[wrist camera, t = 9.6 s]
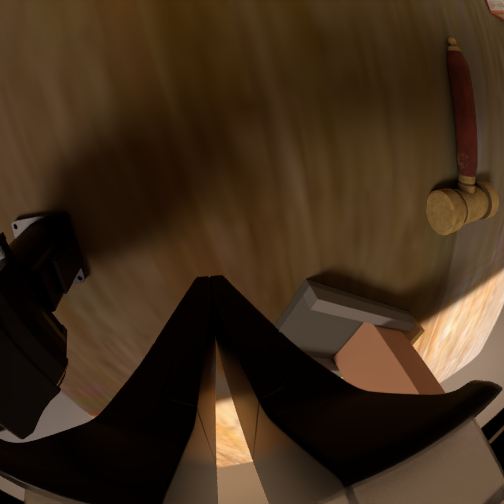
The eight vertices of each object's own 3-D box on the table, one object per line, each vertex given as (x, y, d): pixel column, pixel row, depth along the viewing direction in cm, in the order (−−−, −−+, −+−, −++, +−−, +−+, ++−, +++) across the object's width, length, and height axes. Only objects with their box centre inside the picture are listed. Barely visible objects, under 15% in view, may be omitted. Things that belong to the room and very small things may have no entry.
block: (333, 357, 31) (372, 438, 21) (367, 317, 28) (422, 399, 18) (363, 360, 33) (401, 429, 23) (395, 323, 30) (445, 393, 20)
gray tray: (256, 350, 29) (264, 378, 25) (305, 279, 25) (322, 306, 22) (365, 362, 36) (376, 382, 32) (408, 311, 32) (424, 330, 28)
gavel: (436, 23, 12) (489, 46, 12) (404, 30, 16) (461, 47, 16) (451, 242, 21) (496, 222, 22) (423, 225, 25) (471, 209, 26)
